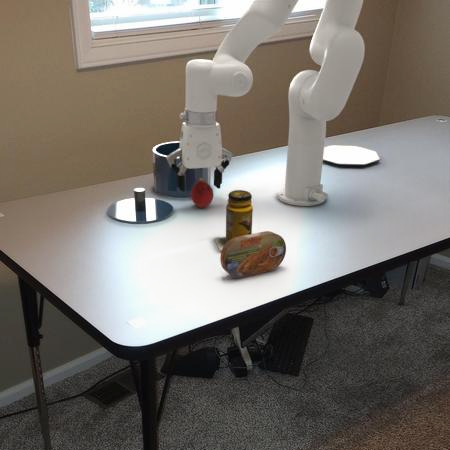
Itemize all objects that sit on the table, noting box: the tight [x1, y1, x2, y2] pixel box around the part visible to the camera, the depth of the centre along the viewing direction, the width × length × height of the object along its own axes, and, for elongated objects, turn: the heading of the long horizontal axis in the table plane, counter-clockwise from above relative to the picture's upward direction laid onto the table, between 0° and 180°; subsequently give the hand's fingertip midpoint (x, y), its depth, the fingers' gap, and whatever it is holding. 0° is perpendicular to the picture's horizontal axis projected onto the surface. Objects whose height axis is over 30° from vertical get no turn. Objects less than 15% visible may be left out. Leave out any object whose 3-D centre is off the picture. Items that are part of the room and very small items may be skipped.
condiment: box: [213, 189, 254, 252], centre depth 149 cm, size 7×8×12 cm
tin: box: [219, 230, 287, 279], centre depth 138 cm, size 15×3×8 cm, turn 117°
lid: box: [107, 187, 175, 225], centre depth 165 cm, size 17×17×6 cm
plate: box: [323, 145, 381, 166], centre depth 208 cm, size 20×20×2 cm
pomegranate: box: [190, 178, 214, 209], centre depth 168 cm, size 6×6×8 cm
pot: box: [152, 141, 212, 199], centre depth 179 cm, size 16×16×11 cm
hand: (199, 188), depth 167 cm, fingers open, 9 cm apart
